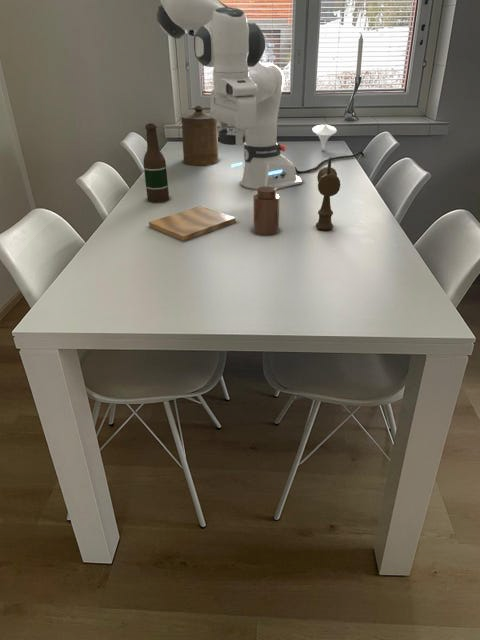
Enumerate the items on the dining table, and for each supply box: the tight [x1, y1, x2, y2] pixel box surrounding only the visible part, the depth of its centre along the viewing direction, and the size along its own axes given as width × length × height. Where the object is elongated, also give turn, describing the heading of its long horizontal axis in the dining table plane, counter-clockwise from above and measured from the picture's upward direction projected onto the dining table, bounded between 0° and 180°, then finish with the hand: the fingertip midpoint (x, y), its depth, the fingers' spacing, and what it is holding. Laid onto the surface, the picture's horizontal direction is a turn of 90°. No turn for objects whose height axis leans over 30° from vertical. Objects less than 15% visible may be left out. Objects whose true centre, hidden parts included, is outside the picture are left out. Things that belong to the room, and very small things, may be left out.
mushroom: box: [311, 123, 338, 152], centre depth 220 cm, size 10×11×12 cm
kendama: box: [315, 157, 341, 231], centre depth 136 cm, size 6×10×20 cm, turn 175°
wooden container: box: [181, 105, 219, 166], centre depth 204 cm, size 15×15×22 cm
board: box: [148, 205, 237, 242], centre depth 145 cm, size 20×16×2 cm
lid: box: [218, 128, 245, 146], centre depth 129 cm, size 7×7×2 cm
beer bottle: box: [143, 123, 170, 203], centre depth 160 cm, size 8×8×24 cm
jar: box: [252, 186, 280, 236], centre depth 137 cm, size 7×7×12 cm
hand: (232, 141), depth 130 cm, fingers closed on lid, 6 cm apart
